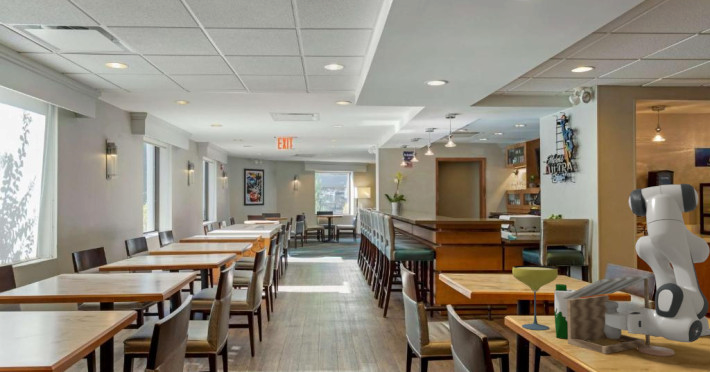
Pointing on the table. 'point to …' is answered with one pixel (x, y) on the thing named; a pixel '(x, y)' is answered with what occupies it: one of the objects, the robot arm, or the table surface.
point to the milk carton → (561, 310)
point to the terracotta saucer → (655, 350)
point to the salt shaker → (609, 331)
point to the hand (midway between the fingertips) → (609, 314)
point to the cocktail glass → (535, 284)
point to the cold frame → (599, 314)
